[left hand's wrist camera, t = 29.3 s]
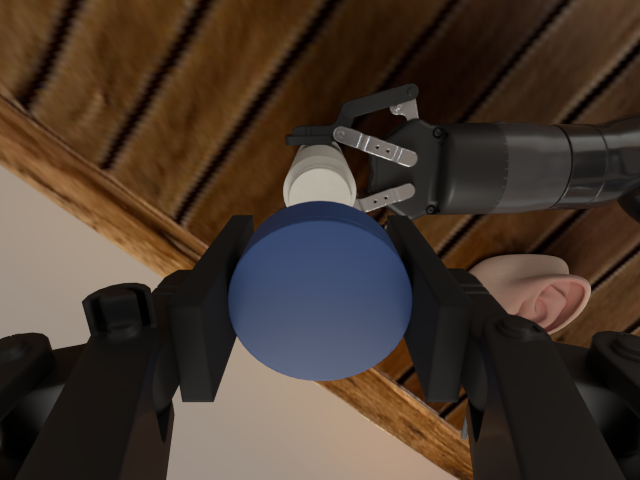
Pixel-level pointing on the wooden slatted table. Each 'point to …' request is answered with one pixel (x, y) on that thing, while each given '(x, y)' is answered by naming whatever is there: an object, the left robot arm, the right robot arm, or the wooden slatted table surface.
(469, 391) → the left robot arm
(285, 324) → the lid
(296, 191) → the white bottle
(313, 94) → the wooden slatted table surface
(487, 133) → the right robot arm
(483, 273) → the anatomical model
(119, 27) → the wooden slatted table surface
